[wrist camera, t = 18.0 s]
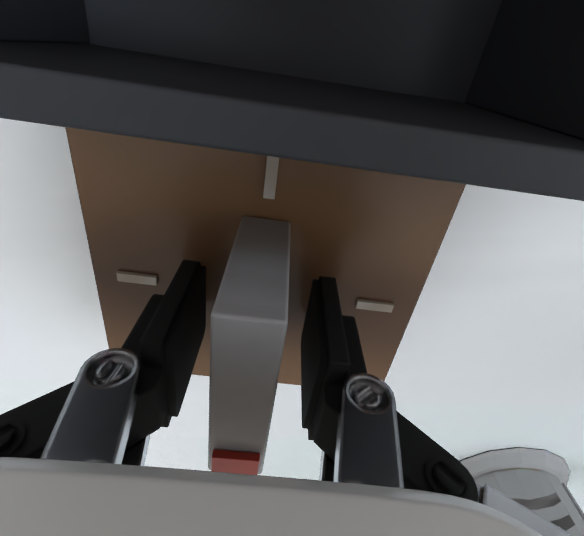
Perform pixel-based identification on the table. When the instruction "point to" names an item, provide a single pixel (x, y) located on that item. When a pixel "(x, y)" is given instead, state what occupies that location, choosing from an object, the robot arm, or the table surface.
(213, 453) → the tap handle
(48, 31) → the dark grey open box
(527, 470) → the french press
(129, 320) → the block
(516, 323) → the table surface
